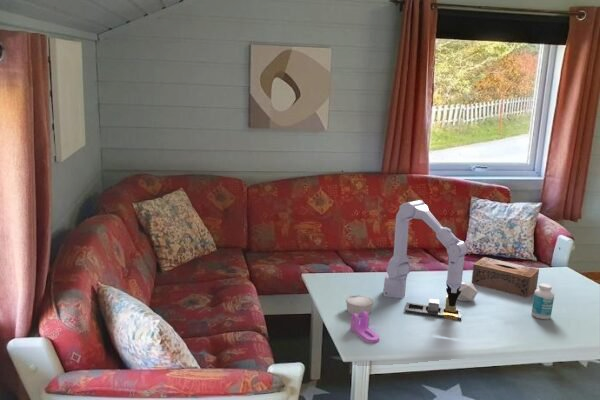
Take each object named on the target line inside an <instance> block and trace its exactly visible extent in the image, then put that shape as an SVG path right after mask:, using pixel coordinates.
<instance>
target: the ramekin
mask: <svg viewBox="0 0 600 400" xmlns="http://www.w3.org/2000/svg"><path fill="white" fill-rule="evenodd" d="M345 303H346V310H347V312H348V313H349V314H350V315H352V314H354V313H357V314H358V315H359V317H360V316H361V312H365V311H366V312H367V313H368V315H369V314H370V313H372V309H373V305H374V300H373V299H372V298H371V297H369V296H367V295H363V294H362V295H360V294H354V295H348V296H347V297H346V298H345Z"/></svg>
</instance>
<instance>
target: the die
mask: <svg viewBox="0 0 600 400" xmlns="http://www.w3.org/2000/svg"><path fill="white" fill-rule="evenodd" d="M463 282H464V283H465V285H464V286H463V285H462V286H461V287H460V289H459V290H460V291H461V293H460V295H459V296H458V298H457V300H459V301H461V302H474V300H475V299H476V296H477V295H478V290H477V289H476V287H475V284H472V281H469V282H468V281H466V282H465V281H463Z"/></svg>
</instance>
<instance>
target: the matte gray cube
mask: <svg viewBox="0 0 600 400" xmlns="http://www.w3.org/2000/svg"><path fill="white" fill-rule="evenodd" d="M439 307H440V299H435V298H428V312H433V313H438V309H439Z"/></svg>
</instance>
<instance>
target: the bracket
mask: <svg viewBox="0 0 600 400" xmlns="http://www.w3.org/2000/svg"><path fill="white" fill-rule="evenodd" d="M350 315H351V314H350ZM369 324H370V315H369V314H368V313H367V312H366V311H365V312H361V316H359V315H358V314H357V313H354V314H352V315H351V316H350V327H349V329H350V330H351V331H352V330H353V331H354V332H353V331H352V332H353V333H355V334H356V335H357V334H358V335H359V336H358V335H357V336H358V337H359V338H361V339H362V340H363V339H364V340H363V341H365V342H366V343H369V344H376V343H379V341H380V335H379V334H378V333H376V332H375V331H374V330H372V329H371V328H370V327H369V326H370V325H369ZM370 336H371V337H370Z"/></svg>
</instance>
